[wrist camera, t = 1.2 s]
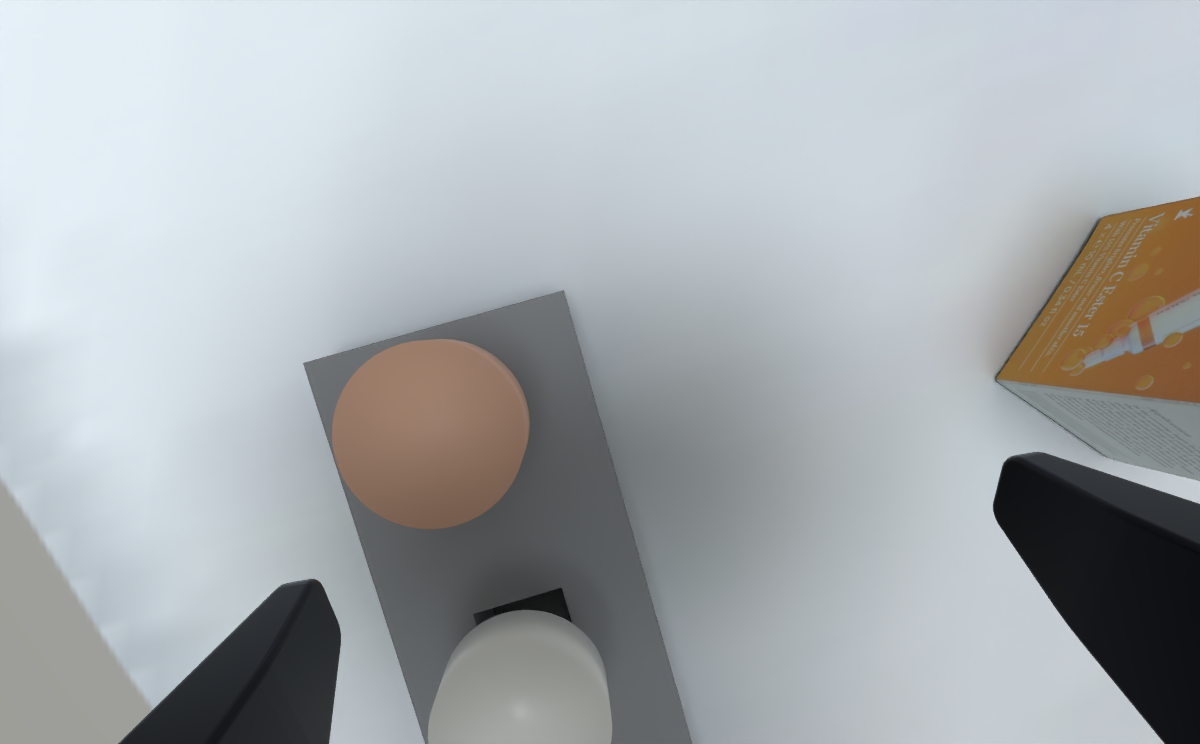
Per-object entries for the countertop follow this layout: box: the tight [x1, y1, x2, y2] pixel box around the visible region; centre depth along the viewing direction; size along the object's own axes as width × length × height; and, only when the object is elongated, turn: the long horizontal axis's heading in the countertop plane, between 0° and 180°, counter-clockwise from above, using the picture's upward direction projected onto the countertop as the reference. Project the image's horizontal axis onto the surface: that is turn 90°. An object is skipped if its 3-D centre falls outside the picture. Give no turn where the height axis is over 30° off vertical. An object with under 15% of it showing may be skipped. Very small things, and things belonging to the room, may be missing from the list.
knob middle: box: [428, 610, 612, 744], centre depth 19 cm, size 5×5×5 cm
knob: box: [332, 339, 530, 529], centre depth 19 cm, size 5×5×5 cm
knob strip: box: [303, 290, 692, 744], centre depth 23 cm, size 23×9×3 cm, turn 16°
